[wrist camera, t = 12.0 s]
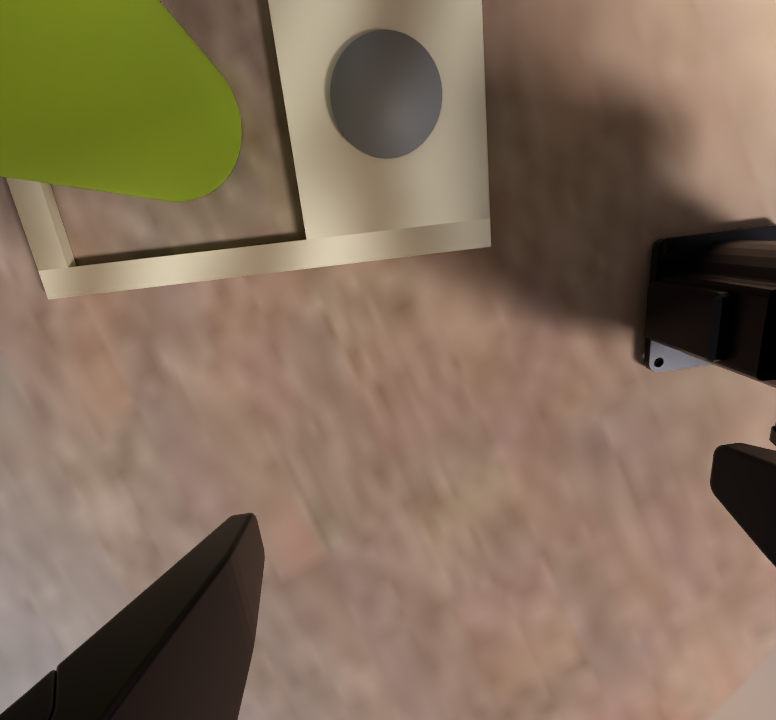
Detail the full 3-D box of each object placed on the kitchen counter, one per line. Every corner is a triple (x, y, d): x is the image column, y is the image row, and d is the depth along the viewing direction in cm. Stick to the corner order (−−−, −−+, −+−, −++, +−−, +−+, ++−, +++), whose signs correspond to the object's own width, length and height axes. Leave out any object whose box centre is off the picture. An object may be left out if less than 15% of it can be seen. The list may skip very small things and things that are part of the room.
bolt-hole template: (473, -97, 16) (480, -115, 15) (487, 246, 20) (493, 246, 19) (-62, -52, 15) (-87, -68, 14) (57, 297, 19) (43, 300, 18)
